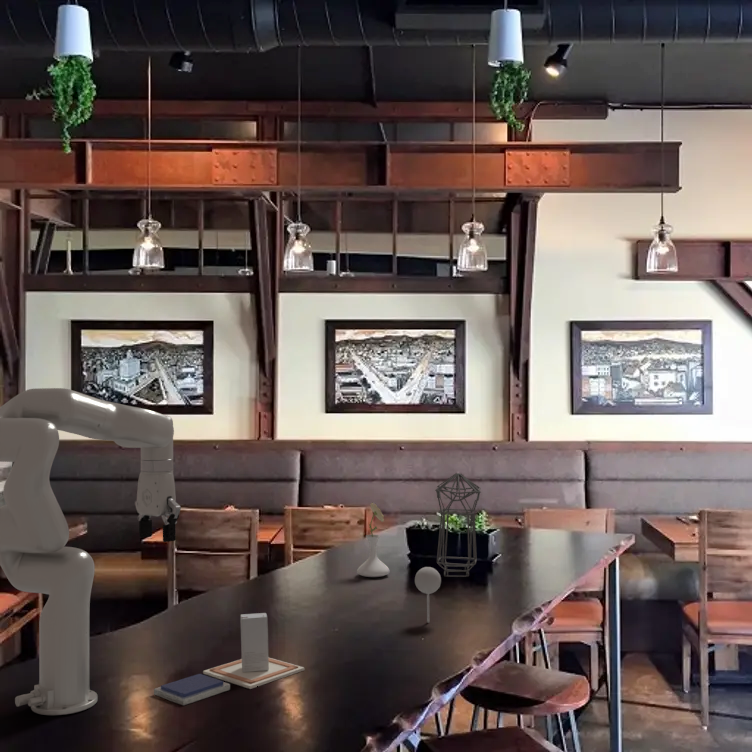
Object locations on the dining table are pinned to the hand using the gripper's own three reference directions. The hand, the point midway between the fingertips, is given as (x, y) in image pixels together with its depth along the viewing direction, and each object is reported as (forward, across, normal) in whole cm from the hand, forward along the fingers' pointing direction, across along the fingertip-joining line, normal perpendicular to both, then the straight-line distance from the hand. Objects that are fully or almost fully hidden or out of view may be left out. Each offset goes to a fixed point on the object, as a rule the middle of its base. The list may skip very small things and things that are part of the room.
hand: (157, 539), depth 204 cm
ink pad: (+28, +26, -9) cm, 39 cm away
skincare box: (+28, +26, +8) cm, 39 cm away
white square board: (+28, +25, +8) cm, 39 cm away
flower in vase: (+28, -23, +103) cm, 109 cm away
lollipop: (+28, +29, +66) cm, 78 cm away
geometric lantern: (+28, -1, +123) cm, 126 cm away
